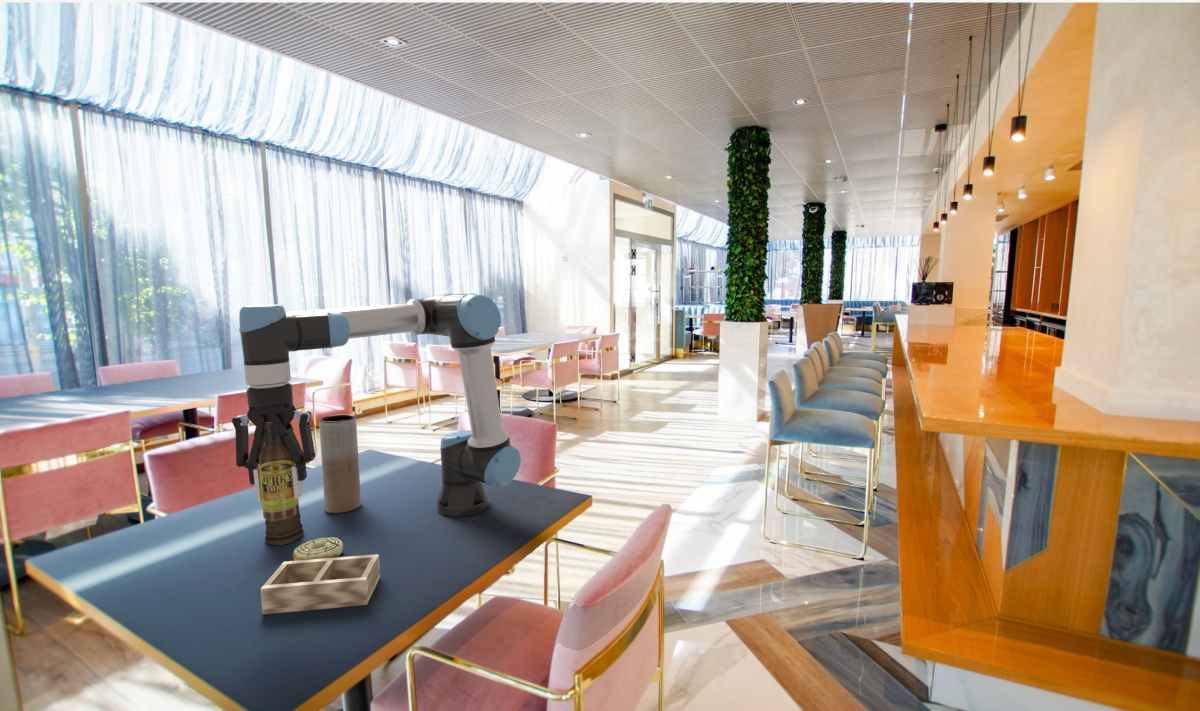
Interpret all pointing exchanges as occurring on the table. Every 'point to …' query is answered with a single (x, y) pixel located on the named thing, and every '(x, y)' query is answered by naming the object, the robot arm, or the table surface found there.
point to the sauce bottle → (276, 476)
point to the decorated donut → (319, 549)
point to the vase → (340, 463)
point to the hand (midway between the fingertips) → (280, 497)
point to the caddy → (321, 584)
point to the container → (284, 530)
